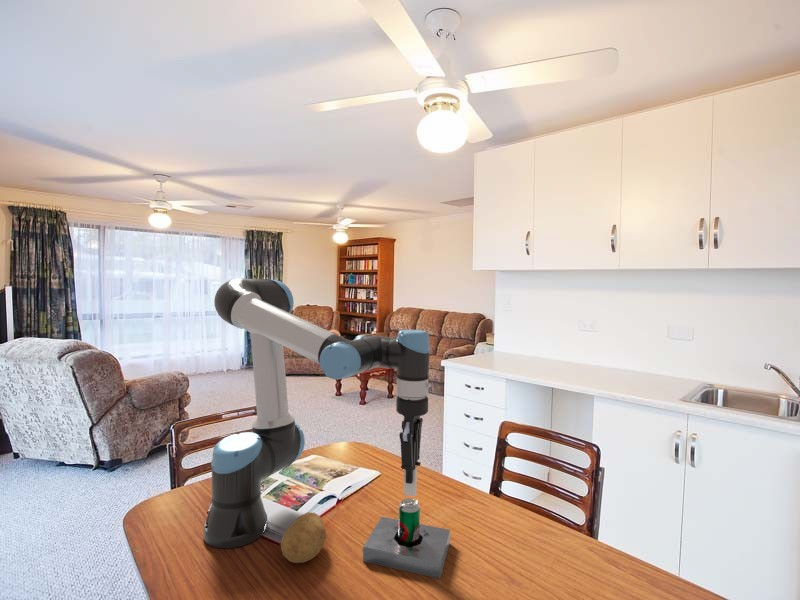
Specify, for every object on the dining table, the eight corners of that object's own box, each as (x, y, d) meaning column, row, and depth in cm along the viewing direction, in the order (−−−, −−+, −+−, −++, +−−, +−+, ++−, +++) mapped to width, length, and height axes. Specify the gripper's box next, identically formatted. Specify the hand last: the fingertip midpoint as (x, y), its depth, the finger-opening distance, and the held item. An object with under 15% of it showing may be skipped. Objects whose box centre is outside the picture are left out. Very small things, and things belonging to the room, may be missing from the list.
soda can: (417, 560, 96) (418, 509, 96) (395, 557, 97) (397, 507, 97) (420, 547, 101) (421, 498, 101) (400, 544, 102) (401, 496, 102)
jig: (362, 561, 95) (363, 546, 95) (381, 529, 108) (381, 516, 108) (440, 578, 90) (440, 563, 90) (449, 543, 103) (450, 529, 103)
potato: (331, 537, 104) (331, 506, 104) (316, 577, 90) (317, 541, 90) (293, 535, 105) (293, 504, 104) (272, 574, 91) (273, 538, 90)
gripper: (421, 404, 90) (419, 510, 91) (433, 390, 103) (431, 484, 104) (388, 401, 92) (386, 505, 93) (404, 388, 105) (402, 479, 106)
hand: (410, 494), depth 99 cm, fingers closed
